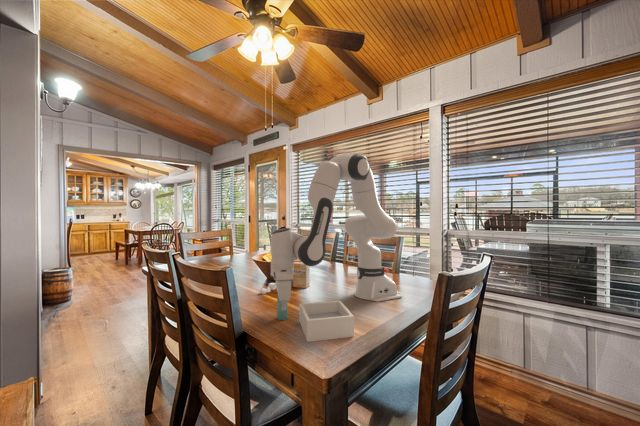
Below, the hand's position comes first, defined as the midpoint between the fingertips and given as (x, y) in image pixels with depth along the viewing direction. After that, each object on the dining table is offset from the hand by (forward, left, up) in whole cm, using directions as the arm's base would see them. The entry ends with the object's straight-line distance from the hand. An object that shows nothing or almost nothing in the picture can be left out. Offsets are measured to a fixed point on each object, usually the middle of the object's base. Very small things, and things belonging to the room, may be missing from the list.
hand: (282, 305), depth 112 cm
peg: (0, 0, -5) cm, 5 cm away
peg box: (-14, +13, -5) cm, 20 cm away
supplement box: (-14, -40, -5) cm, 43 cm away
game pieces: (+4, -36, -6) cm, 37 cm away
